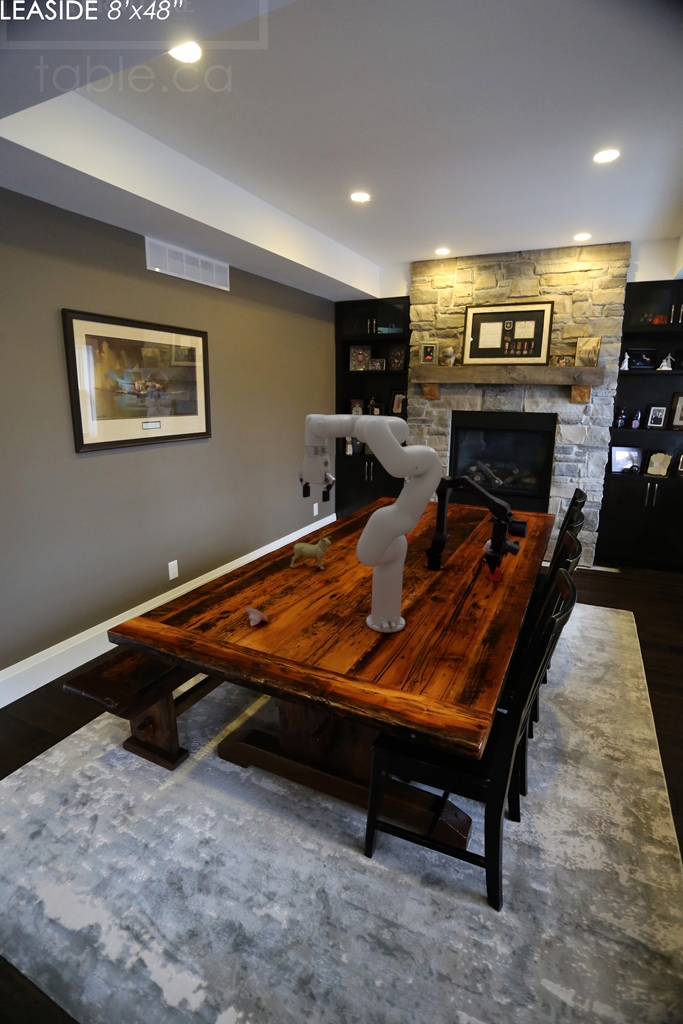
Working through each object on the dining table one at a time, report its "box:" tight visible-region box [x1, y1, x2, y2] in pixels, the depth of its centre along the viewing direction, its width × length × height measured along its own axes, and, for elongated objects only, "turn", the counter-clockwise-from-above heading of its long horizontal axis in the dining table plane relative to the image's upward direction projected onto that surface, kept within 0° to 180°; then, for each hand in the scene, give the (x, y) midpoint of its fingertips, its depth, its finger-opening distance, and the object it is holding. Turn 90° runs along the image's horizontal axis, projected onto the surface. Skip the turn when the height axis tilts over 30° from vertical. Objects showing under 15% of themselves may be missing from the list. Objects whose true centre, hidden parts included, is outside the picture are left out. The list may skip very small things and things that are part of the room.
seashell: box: [245, 607, 269, 627], centre depth 160 cm, size 8×5×8 cm
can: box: [488, 567, 503, 583], centre depth 202 cm, size 4×4×5 cm
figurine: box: [482, 538, 493, 562], centre depth 223 cm, size 8×8×12 cm
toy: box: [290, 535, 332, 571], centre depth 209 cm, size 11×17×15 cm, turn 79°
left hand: (316, 499), depth 176 cm, fingers open, 9 cm apart
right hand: (495, 571), depth 202 cm, fingers open, 9 cm apart
